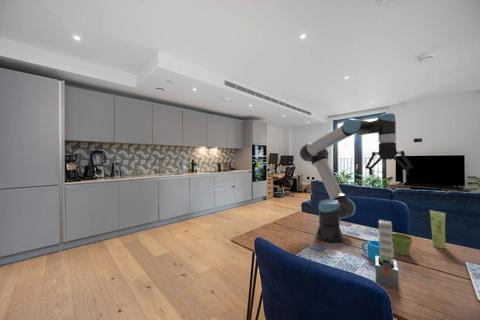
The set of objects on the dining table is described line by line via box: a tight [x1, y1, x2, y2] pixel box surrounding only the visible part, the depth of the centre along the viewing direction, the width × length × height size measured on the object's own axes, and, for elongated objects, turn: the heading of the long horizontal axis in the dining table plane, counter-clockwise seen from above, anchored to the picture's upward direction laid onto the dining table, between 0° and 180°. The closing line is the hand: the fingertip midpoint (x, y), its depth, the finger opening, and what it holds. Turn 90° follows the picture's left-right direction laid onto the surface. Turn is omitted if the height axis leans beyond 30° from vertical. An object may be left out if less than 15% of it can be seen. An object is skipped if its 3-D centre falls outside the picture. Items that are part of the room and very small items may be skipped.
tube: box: [429, 209, 447, 249], centre depth 106 cm, size 6×5×20 cm
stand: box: [375, 256, 400, 290], centre depth 76 cm, size 18×12×10 cm, turn 55°
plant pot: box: [392, 232, 414, 257], centre depth 100 cm, size 9×9×9 cm
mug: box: [361, 240, 380, 262], centre depth 95 cm, size 12×8×8 cm
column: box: [378, 219, 394, 266], centre depth 76 cm, size 4×6×16 cm
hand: (388, 181), depth 104 cm, fingers open, 13 cm apart
